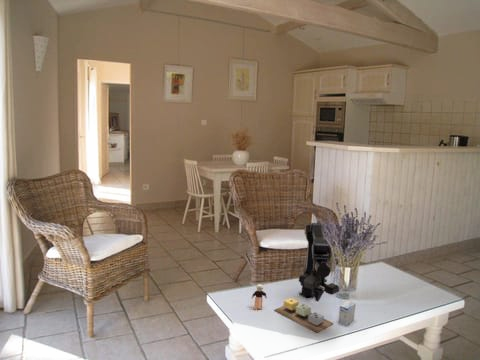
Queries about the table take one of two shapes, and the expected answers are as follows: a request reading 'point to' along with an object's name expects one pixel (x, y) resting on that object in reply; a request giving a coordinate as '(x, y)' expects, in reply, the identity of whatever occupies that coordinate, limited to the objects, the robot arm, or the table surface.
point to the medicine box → (346, 313)
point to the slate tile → (315, 318)
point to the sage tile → (303, 309)
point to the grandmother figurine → (258, 297)
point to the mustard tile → (291, 303)
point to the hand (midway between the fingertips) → (317, 301)
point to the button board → (302, 319)
